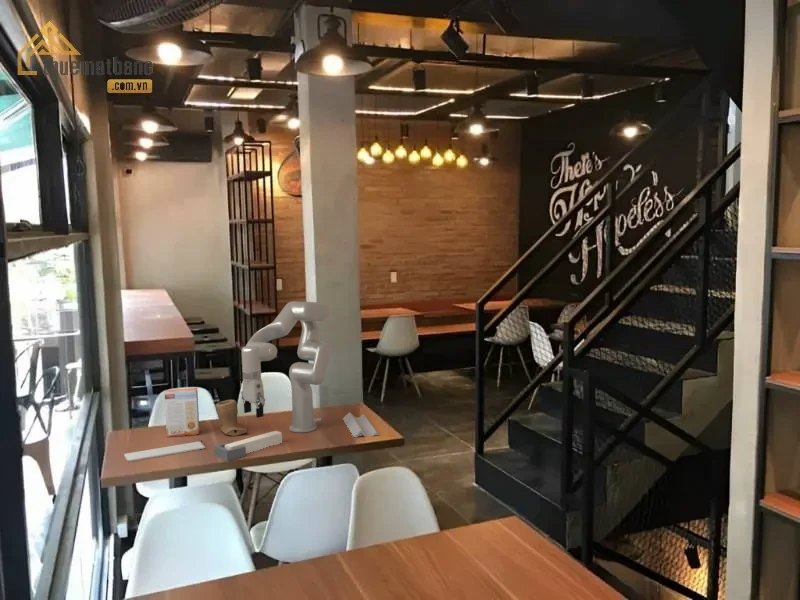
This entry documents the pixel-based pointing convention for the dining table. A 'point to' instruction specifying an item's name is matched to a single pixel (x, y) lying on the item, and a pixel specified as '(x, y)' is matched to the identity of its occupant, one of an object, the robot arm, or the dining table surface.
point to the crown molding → (359, 425)
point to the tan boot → (229, 418)
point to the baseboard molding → (162, 451)
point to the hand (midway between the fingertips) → (253, 414)
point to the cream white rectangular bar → (257, 442)
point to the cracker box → (181, 412)
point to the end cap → (229, 452)
